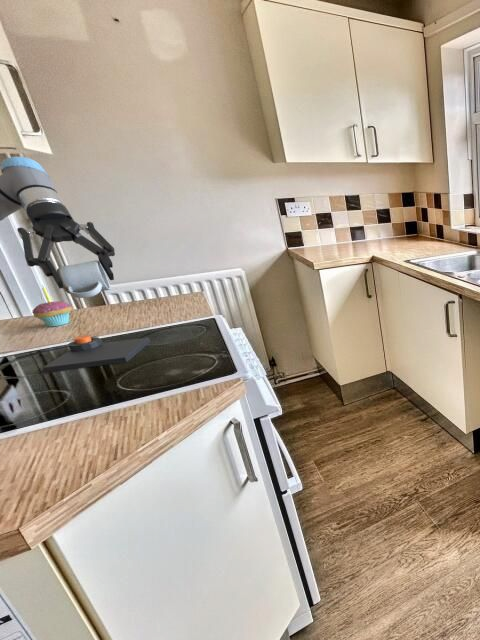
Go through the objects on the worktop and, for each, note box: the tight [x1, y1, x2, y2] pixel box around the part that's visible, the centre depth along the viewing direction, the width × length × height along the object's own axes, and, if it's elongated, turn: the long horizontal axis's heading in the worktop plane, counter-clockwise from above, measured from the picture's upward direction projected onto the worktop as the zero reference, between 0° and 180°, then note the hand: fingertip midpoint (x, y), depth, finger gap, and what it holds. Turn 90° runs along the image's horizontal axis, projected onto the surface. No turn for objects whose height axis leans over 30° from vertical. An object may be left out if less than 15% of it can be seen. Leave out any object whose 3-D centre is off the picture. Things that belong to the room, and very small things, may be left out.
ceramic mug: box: [56, 260, 111, 299], centre depth 106 cm, size 11×8×8 cm
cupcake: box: [31, 285, 74, 328], centre depth 129 cm, size 9×8×12 cm
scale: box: [42, 336, 152, 374], centre depth 108 cm, size 16×15×3 cm
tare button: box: [73, 334, 92, 344], centre depth 109 cm, size 3×3×2 cm
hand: (87, 280), depth 104 cm, fingers closed on ceramic mug, 9 cm apart
